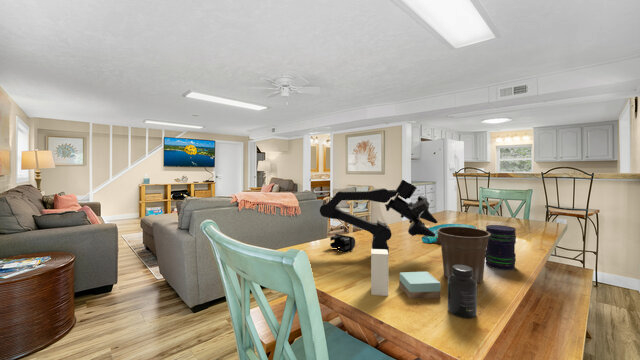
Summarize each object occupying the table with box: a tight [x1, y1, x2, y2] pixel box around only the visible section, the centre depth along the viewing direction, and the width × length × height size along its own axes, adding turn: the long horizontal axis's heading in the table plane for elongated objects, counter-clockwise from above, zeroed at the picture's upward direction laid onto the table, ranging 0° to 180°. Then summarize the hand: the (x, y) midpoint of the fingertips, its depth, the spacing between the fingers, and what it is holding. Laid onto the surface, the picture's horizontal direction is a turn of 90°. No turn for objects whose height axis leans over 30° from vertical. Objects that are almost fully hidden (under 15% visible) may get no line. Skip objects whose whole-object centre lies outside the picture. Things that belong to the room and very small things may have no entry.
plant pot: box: [436, 226, 490, 284], centre depth 97 cm, size 16×16×16 cm
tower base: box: [398, 279, 441, 300], centre depth 86 cm, size 9×9×2 cm
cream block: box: [370, 248, 389, 297], centre depth 86 cm, size 5×5×12 cm
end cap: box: [329, 233, 356, 253], centre depth 132 cm, size 10×7×7 cm
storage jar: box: [485, 224, 517, 271], centre depth 108 cm, size 10×10×15 cm
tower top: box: [399, 271, 442, 292], centre depth 86 cm, size 9×9×2 cm
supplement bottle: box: [447, 265, 478, 319], centre depth 73 cm, size 7×7×12 cm
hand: (435, 229), depth 116 cm, fingers open, 9 cm apart
